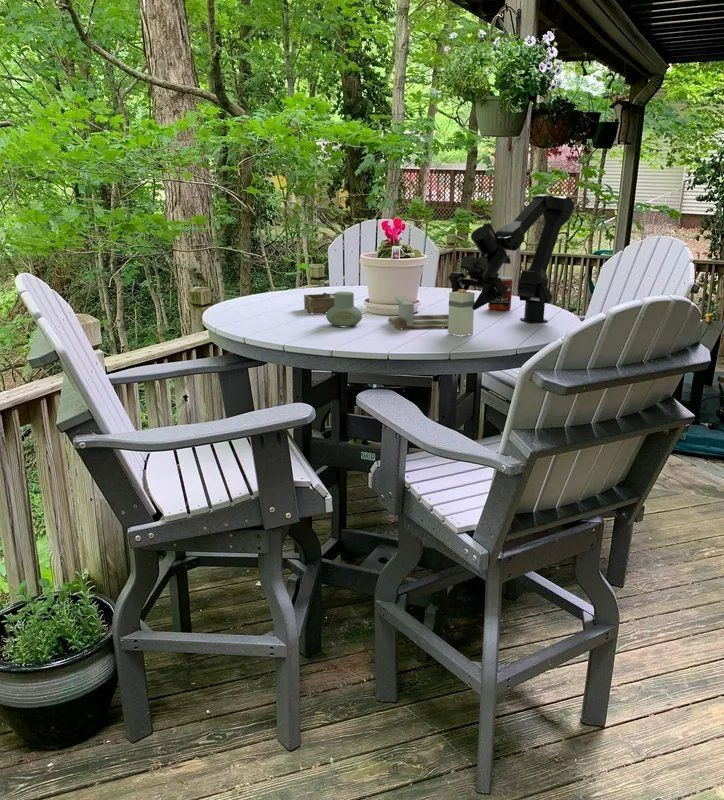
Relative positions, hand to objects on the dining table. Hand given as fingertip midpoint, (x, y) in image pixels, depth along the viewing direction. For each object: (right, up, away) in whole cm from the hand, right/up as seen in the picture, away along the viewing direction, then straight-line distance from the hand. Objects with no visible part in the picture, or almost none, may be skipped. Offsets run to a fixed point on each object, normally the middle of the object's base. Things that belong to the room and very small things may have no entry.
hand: (461, 306), depth 195 cm
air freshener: (-34, -4, +16) cm, 37 cm away
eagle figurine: (-40, +4, +41) cm, 57 cm away
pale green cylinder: (0, -8, +2) cm, 8 cm away
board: (-8, -3, +18) cm, 20 cm away
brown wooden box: (-41, +4, +41) cm, 58 cm away
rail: (-15, -2, +17) cm, 23 cm away
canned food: (+19, +5, +43) cm, 47 cm away
